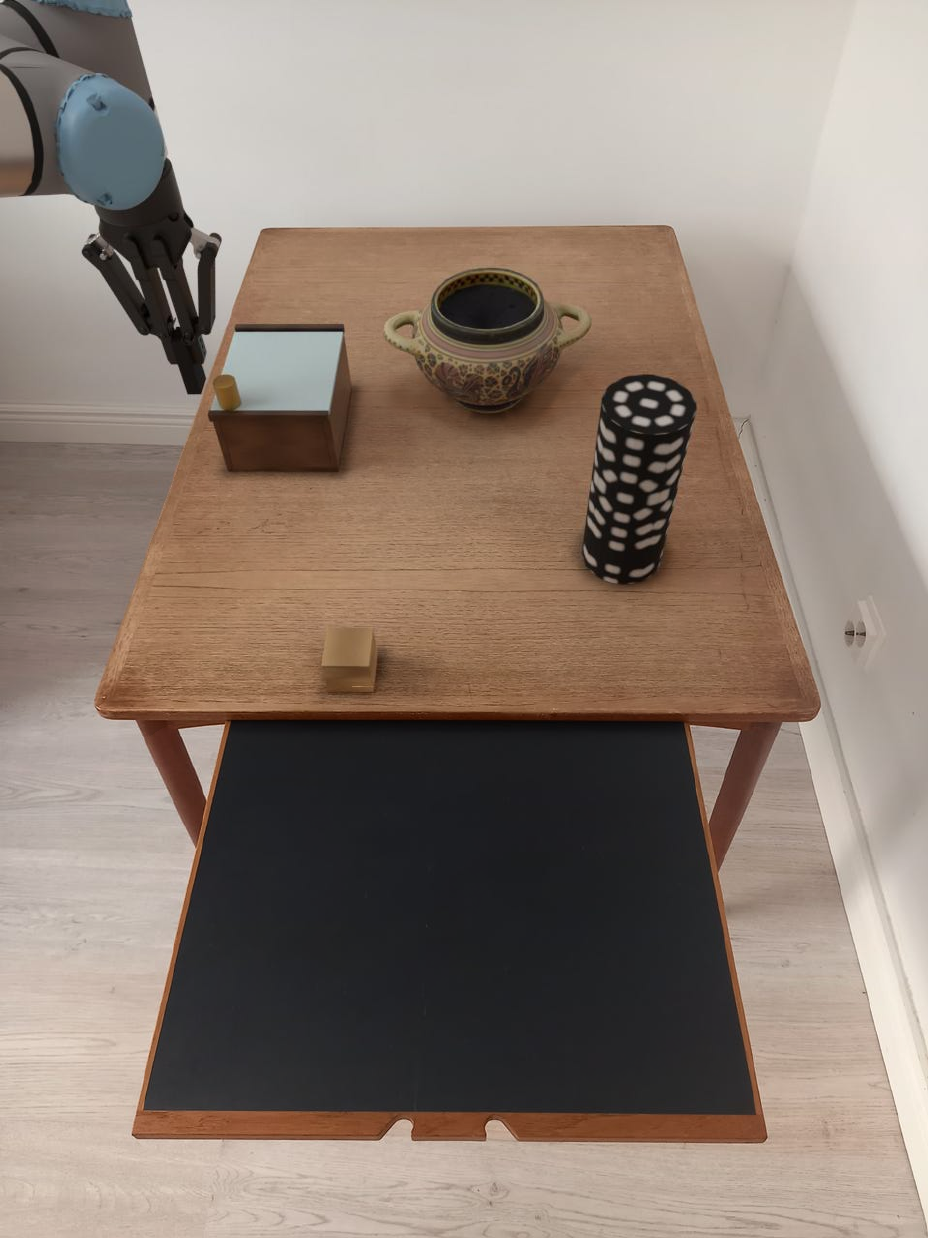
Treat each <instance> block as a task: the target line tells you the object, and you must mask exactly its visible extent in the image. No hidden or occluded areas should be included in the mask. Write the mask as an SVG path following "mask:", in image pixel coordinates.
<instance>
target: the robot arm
mask: <svg viewBox="0 0 928 1238" xmlns="http://www.w3.org/2000/svg"><path fill="white" fill-rule="evenodd" d="M132 12H133V11H132V10H131V8H130V6H129V3H128V0H2V2H0V199H1V198H3V199H4V198H18V197H36V196H56V195H59V196H60V195H70V196H73V197H75V198H76V199H77V200H79V201H80V202H82V203H85V204H89V205H90V206H93V207H94V210H95V213H96V214H97V216H98V219H99V222H98V223H99V224H98V232H97V233H91V234H89V235H88V237H87V240H86V241H85V243H84V245H83V247H82V249H81V255H82V257H84V258H85V259H86V261H88V262H89V263H90V264H91V265H92V266H93V267H94V268H95V269H97V270H98V272H99V273H100V274H101V276H102V277H103V279H104V281H105V282H106V284H107V285H108V286H109V288H110V290H111V292H112V293H113V295H114V296H115V298H116V299H117V301H118V302H119V304H120V306H121V307H122V309H123V311H124V312H125V314H126V315H127V316H128V318H129V320H130V322H131V323H132V325H133V326H134V328H135V329H136V331H137V332H138V333H139V334H140V335H141V336H145V337H146V336H149V335H152V336H155V337H157V338H158V339H159V341H160V342H161V345H162V348H163V351H164V353H165V357H166V359H167V362H168V363H169V364H170V365H173V366H174V365H177V367H178V370H179V373H180V376H181V379H182V382H183V385H184V388H185V391H186V394H187V395H190V396H191V395H194V396H195V395H202V394H203V390H204V387H205V384H206V381H207V377H206V372H205V370H204V366H203V365H204V364H205V361H206V357H207V354H208V352H207V348H206V345H205V342H204V338H203V336H208V335H210V334H211V333H212V330H213V327H214V324H215V321H216V317H217V316H216V314H217V313H216V312H217V311H216V310H217V309H216V307H217V306H216V305H217V304H216V301H217V300H216V298H217V297H216V296H217V295H216V258H217V256H218V254H219V251H220V247H221V244H222V241H223V239H222V238H223V237H222V236H221V234H219V233H217V232H211V233H210V234H207V233H205V232H203V231H201V230H200V229H197V228H196V227H195V224H194V222H193V220H192V218H191V217H190V216H189V215H188V213H187V212H186V210H185V208H184V203H183V200H182V196H181V193H180V189H179V185H178V180H177V178H176V174H175V169H174V167H173V163H172V161H171V160H170V159H169V157H168V155H169V152H168V146H167V143H166V138H165V136H164V132H163V129H162V125H161V121H160V117H159V114H158V110H157V106H156V104H155V101H154V98H153V93H152V90H151V85H150V81H149V78H148V74H147V71H146V66H145V64H144V60H143V56H142V52H141V48H140V45H139V41H138V37H137V33H136V30H135V29H136V28H135V26H134V23H133V22H134V21H133V19H132V18H133V13H132ZM189 243H190V244H191V245H192V247H193V254H194V257H195V258H196V259H197V260H198V264H197V273H196V274H197V305H198V306H197V309H198V310H197V309H196V304H195V301H194V298H193V295H192V292H191V288H190V285H189V281H188V278H187V275H186V271H185V268H184V258H183V256H184V253H185V251H186V249H187V248H188V245H189ZM117 253H118V254H119V255H120V256H121V257H123V259H125V260H126V261H127V262H128V263H129V264H130V266H131V269H132V272H133V275H134V278H135V280H136V281H138V284H139V287H140V289H139V287H138V286H137V284H136V282H135V280H134V279H133V277H132V276H131V274H130V272H129V271H128V269H127V268H126V266H125V264H124V263H123V261H122V260H121V258H120V256H119V255H118V254H117ZM160 275H161V276H160ZM161 278H162V279H161ZM162 280H163V281H165V284H166V287H167V290H168V294H169V296H170V297H169V298H170V300H171V303H172V306H173V309H174V312H175V316H176V317H174V316H173V313H172V310H171V307H170V304H169V300H168V297H167V294H166V290H165V288H164V284H163V282H162ZM140 290H141V291H140ZM197 311H198V312H197ZM176 321H177V322H178V325H179V326H175V323H176Z"/></svg>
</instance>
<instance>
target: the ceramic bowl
mask: <svg viewBox="0 0 928 1238" xmlns="http://www.w3.org/2000/svg"><path fill="white" fill-rule="evenodd" d="M564 317H567V318H571V319H572V320H575V321H577V322H578V323H577V325H576V326H575V327H574V328H572V329H570V330H568V331H567V330H564V327H563V323H562V318H564ZM408 325H410V326H412V334H411V335H412V338H408V337H405V336H403V335H401V334H399V333H398V332H397V331H396V330H399V329H401V328H402V327H404V326H408ZM591 327H592V317H591V315H590V313H589V312H588V311H586V310H585V309H584V308H582V307H581V306H577V305H575V304H573V303H569V302H567V301H555V302H554V301H553V302H550V301H548V300H546V299H545V297H544V294H543V291H542V289H541V287H540V286H539V284H538V283H537V282H535V281H534V280H533V279H532V278H530V277H528V276H527V275H525V274H523V273H520V272H518V271H515V270H513V269H508V268H501V267H479V268H472V269H466V270H463V271H461V272H458V273H455V274H454V275H452V276H449V277H448V278H446V279H444V280H443V282H442V283H440V284H439V285H438V286H437V288H436V289H435V291H434V292H433V294H432V296H431V300H430V302H429V303H427V305H425V307H423V308H421V309H416V310H407V311H404V312H400V313H398V314H396V315H393V316H392V317H390V318H389V319H388V320H386V322H385V323H384V325H383V328H382V329H383V330H382V334H383V338H384V340H385V341H386V342H387V343H388V344H390V345H391V346H393V347H394V348H395V349H397V350H399V351H402V352H405V353H407V354H409V355H411V356H413V357H414V360H415V362H416V364H417V366H418V369H419V370H420V371H421V373H422V374H423V376H424V377H425V379H426V380H427V381H428V382H429V383H431V385H432V386H433V387H435V388H436V389H437V390H438V391H440V392H441V393H443V394H444V395H446V396H448V397H450V398H452V399H453V401H455V402H456V403H457V404H458V405H459V406H461V407H463V408H464V409H466V410H469V411H472V412H476V413H481V414H497V413H502V412H504V411H507V410H508V409H509V410H510V409H511V408H513V407H515V406H516V405H517V404H518V403H520V402H521V400H522V399H523V398H524V396H526V395H528V394H529V393H530V392H532V391H534V390H535V389H536V388H538V387H539V386H540V385H541V384H542V383H544V381H545V380H546V379H547V378H548V377H549V376H550V374H551V373H552V372H553V370H554V369H555V367H556V365H557V364H558V361H559V359H560V356H561V353H562V351H563V350H565V349H566V348H568V347H570V346H572V345H573V344H576V343H577V342H579V341H580V340H581V339H583V338H584V337H585V336H586V335H587V334H588V333H589V332H590V330H591Z"/></svg>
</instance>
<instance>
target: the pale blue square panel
mask: <svg viewBox="0 0 928 1238" xmlns="http://www.w3.org/2000/svg"><path fill="white" fill-rule="evenodd" d="M344 337H345V333H344V334H343V332H235V331H234V332H233V335H232V339H231V341H230V346H229V349H228V352H227V354H226V358H225V362H224V364H223V368H222V372H221V374H220V375H218V376H216V377H214V379H213V380H212V386H213V389H214V393H215V395H214V397H213V400H212V404H211V407H210V410H328V413H329V415H330V410H331V404H332V399H333V393H334V388H335V382H336V377H337V371H338V365H339V360H340V354H341V349H342V343H343V338H344Z"/></svg>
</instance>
